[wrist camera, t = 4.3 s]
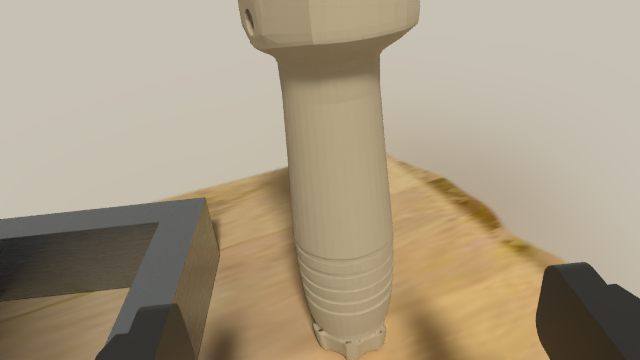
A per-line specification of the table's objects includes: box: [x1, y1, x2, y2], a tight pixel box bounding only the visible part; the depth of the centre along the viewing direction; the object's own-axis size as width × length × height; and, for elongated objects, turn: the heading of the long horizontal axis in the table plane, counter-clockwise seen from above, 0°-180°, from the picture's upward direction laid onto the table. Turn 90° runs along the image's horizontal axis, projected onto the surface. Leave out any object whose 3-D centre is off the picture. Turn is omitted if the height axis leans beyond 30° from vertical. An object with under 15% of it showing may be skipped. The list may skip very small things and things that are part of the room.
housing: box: [0, 197, 220, 360], centre depth 20 cm, size 14×14×4 cm
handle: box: [238, 0, 420, 360], centre depth 18 cm, size 5×6×15 cm
